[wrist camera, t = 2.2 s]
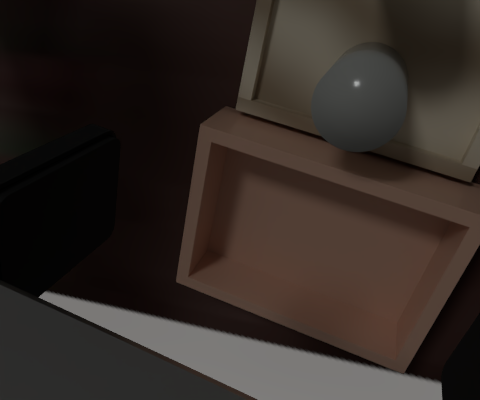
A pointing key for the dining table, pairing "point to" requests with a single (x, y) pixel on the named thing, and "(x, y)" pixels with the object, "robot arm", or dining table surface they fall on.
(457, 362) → the robot arm
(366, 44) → the pebble dark
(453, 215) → the brown shallow rectangular tray
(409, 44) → the birch tray
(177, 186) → the dining table surface
